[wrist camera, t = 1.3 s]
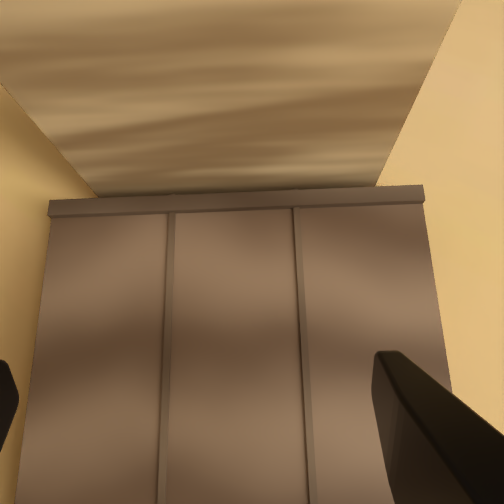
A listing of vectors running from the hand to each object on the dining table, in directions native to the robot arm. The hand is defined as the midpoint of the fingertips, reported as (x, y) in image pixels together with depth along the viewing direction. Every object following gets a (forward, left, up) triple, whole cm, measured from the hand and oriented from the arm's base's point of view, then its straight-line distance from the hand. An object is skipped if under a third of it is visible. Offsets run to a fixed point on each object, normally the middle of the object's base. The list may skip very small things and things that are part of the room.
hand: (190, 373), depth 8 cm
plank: (+10, +6, -13) cm, 18 cm away
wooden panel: (+1, +1, -13) cm, 14 cm away
